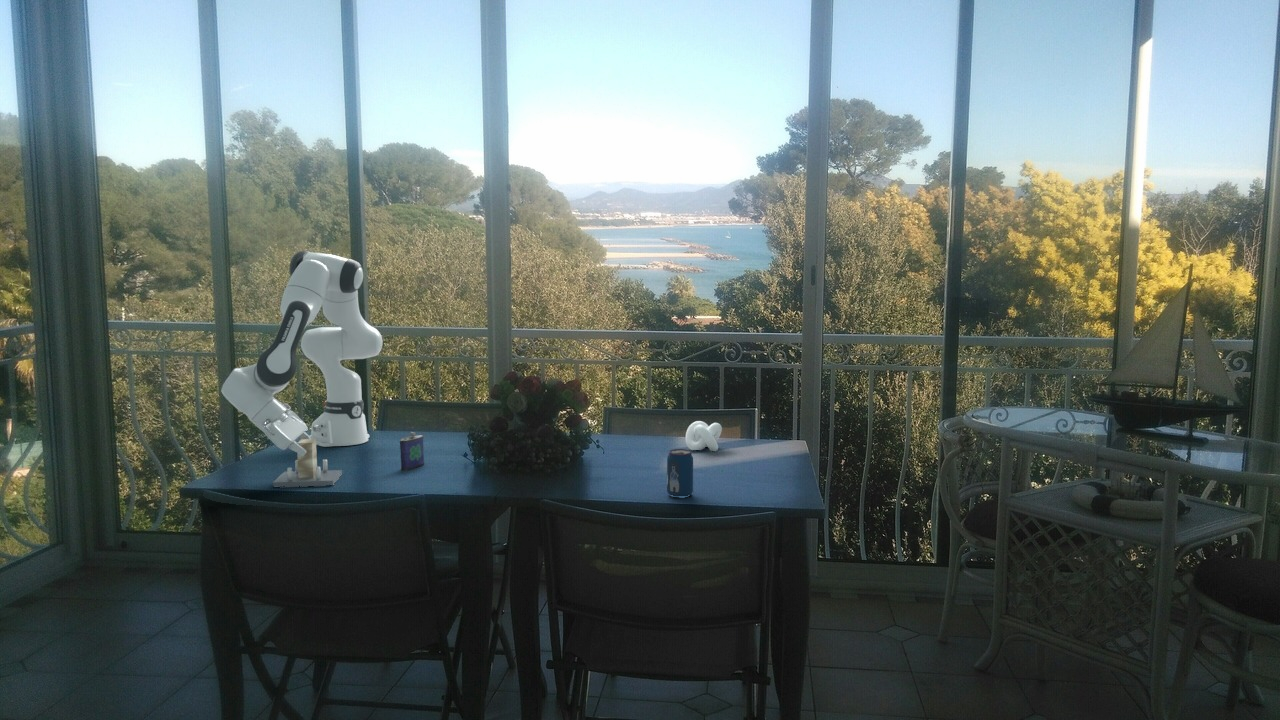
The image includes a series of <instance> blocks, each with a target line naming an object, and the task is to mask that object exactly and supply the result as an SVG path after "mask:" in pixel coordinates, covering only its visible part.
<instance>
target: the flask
mask: <svg viewBox="0 0 1280 720" xmlns="http://www.w3.org/2000/svg"><path fill="white" fill-rule="evenodd" d="M409 433H410V435H409V436H406V437H403V438H401V439H400V440H399V449H400V465H401V466H400V468H401V469H400V470H401V471H410V470H414V469H416V468H419V467H421V465H422V466H424V465H425V451H424V450H425V449H424V448H425V447H424V436H423V435H421V434H420V435H419V434H418V435H416V432H413V431H410V432H409ZM409 469H410V470H409Z"/></svg>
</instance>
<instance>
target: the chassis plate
mask: <svg viewBox="0 0 1280 720" xmlns="http://www.w3.org/2000/svg"><path fill="white" fill-rule="evenodd" d="M294 463H295V468H294V469H295V470H294V471H293V467H291V466H290V467H287V471H283V473H281V474H279V476H278V477H277V478H276V479H275V480H273V481H272V487H273V486H279V487H280V486H282V487H280V488H306V487H307V488H309V487H308V486H314V487H327V486H326V485H334V486H335V484H336V483H337V482H338V481H339V479H340V478H341V477H342V476H343V470H342V469H340V470H339V469H337V470H336V469H335V470H334V469H332V470H331V469H330V470H329V469H328V459H322V470H321V466H317V467H316V476H315V477H314V478H299V477H298V459H296V460H295V461H294ZM341 475H342V476H341ZM340 476H341V477H340ZM339 477H340V478H339ZM337 480H338V481H337ZM336 481H337V482H336ZM335 482H336V483H335ZM334 483H335V484H334ZM283 486H285V487H283ZM299 486H300V487H299Z"/></svg>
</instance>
